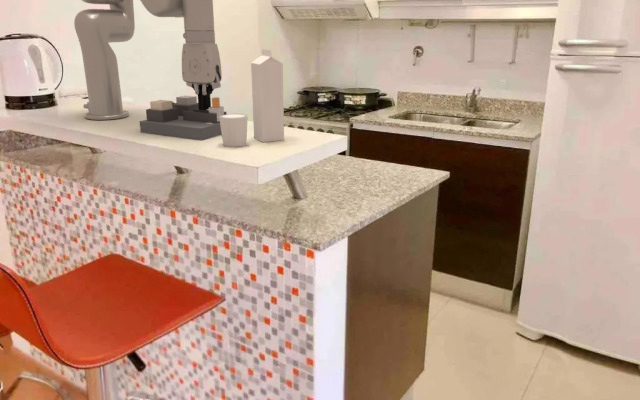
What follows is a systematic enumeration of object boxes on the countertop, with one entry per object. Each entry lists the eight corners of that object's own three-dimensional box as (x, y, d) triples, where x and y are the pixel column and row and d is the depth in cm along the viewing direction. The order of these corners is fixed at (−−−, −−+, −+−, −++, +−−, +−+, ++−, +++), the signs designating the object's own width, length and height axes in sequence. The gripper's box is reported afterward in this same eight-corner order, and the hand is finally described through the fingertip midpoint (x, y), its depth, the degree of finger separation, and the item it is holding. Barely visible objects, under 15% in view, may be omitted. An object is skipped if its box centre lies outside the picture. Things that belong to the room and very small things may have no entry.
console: (140, 132, 144) (138, 110, 142) (188, 121, 160) (186, 100, 158) (201, 140, 134) (199, 116, 132) (245, 127, 150) (244, 106, 148)
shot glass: (251, 141, 133) (250, 113, 131) (245, 147, 127) (244, 118, 125) (224, 140, 134) (223, 113, 132) (217, 147, 127) (215, 117, 125)
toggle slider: (209, 120, 142) (208, 98, 140) (216, 119, 144) (215, 96, 142) (217, 121, 140) (215, 98, 139) (224, 120, 143) (223, 97, 141)
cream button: (151, 114, 143) (149, 101, 142) (161, 112, 147) (160, 99, 146) (162, 116, 142) (161, 102, 141) (173, 113, 145) (171, 100, 144)
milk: (275, 136, 140) (273, 48, 133) (284, 140, 135) (283, 49, 128) (253, 138, 137) (250, 49, 130) (261, 142, 132) (259, 50, 125)
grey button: (177, 109, 152) (176, 97, 151) (186, 107, 155) (185, 95, 154) (187, 110, 150) (187, 98, 149) (197, 108, 153) (196, 96, 152)
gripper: (167, 38, 137) (174, 109, 143) (213, 39, 131) (218, 113, 137) (187, 37, 144) (192, 105, 150) (232, 38, 137) (235, 109, 143)
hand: (204, 109), depth 143 cm, fingers closed
